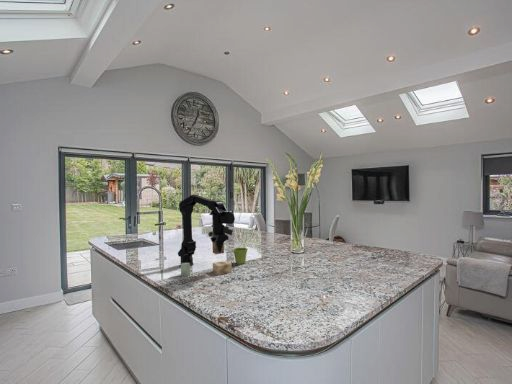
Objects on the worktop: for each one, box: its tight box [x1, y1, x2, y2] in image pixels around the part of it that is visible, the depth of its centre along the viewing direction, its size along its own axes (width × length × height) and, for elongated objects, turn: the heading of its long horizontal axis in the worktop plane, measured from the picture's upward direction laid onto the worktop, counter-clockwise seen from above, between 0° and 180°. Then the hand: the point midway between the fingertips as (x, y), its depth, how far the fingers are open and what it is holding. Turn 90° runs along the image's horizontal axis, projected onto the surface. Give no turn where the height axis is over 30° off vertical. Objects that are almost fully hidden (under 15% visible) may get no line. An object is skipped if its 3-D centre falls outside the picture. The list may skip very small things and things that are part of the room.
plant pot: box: [232, 247, 249, 265], centre depth 184 cm, size 9×9×9 cm
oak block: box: [212, 260, 233, 276], centre depth 166 cm, size 8×8×5 cm
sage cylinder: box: [180, 263, 191, 277], centre depth 161 cm, size 5×5×6 cm
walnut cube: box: [211, 241, 225, 255], centre depth 165 cm, size 5×5×6 cm
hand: (218, 251), depth 165 cm, fingers closed on walnut cube, 5 cm apart
